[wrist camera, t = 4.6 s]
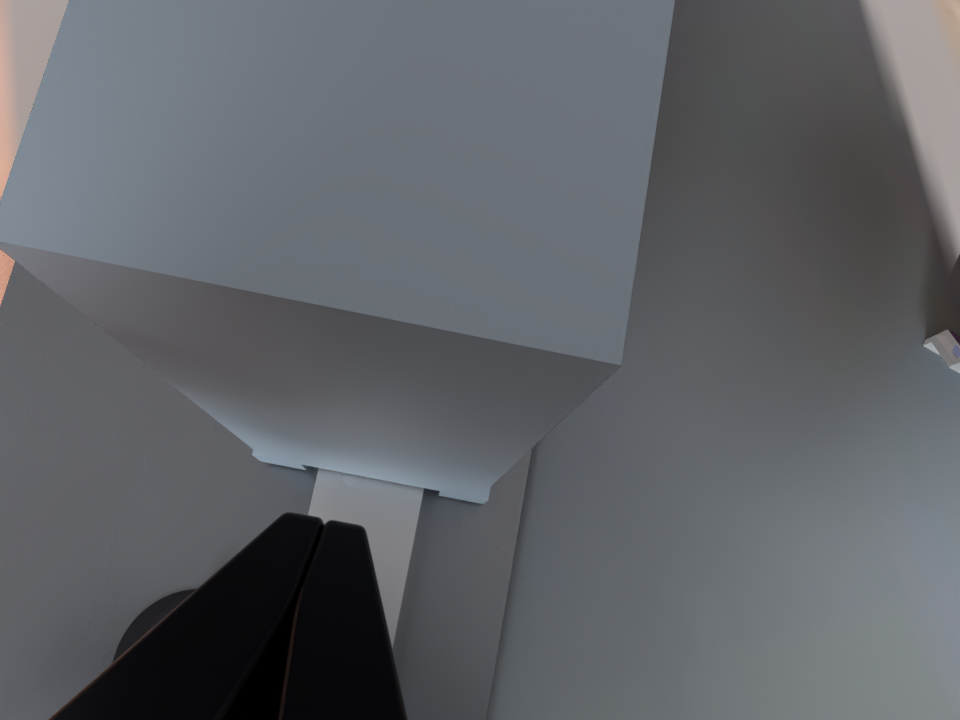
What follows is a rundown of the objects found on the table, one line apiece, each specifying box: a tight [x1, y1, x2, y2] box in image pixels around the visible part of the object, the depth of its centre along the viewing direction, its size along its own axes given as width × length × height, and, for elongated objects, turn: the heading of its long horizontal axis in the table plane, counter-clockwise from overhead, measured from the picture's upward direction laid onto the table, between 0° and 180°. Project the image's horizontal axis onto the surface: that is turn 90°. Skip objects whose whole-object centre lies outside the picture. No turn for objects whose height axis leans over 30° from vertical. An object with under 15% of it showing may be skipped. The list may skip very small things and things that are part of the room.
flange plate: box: [0, 261, 532, 720], centre depth 17 cm, size 22×11×2 cm, turn 169°
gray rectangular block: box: [0, 0, 675, 504], centre depth 12 cm, size 4×5×12 cm
